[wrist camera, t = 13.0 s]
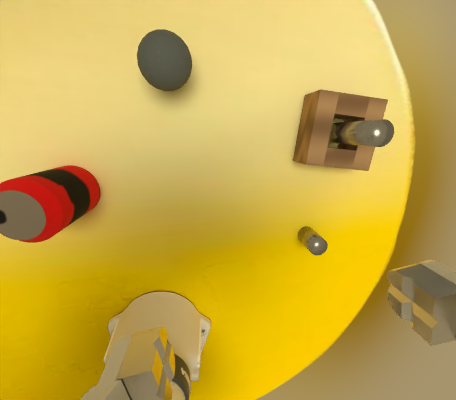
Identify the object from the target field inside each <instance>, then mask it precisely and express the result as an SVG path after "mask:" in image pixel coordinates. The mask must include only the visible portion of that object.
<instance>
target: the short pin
mask: <svg viewBox="0 0 456 400" xmlns="http://www.w3.org/2000/svg"><path fill="white" fill-rule="evenodd" d="M298 238H299V240H300V241H301V242H302V243H303V244H304V245H305V246H306V247H307V249H308V250H309V251H310V252H311V253H312V254H314V255H321V254H323V253H324V252H325V251H326V250H327V242H326V241H325V240H324V239H323V238H322V237H321V236H320V235H318V234H317V233H316V232H315V231H314V230H313V229H312V228H310V227H303V228H301V229H300V230H299V232H298Z"/></svg>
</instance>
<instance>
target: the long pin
mask: <svg viewBox="0 0 456 400" xmlns="http://www.w3.org/2000/svg"><path fill="white" fill-rule="evenodd" d="M393 134H394V127H393V124H392V123H391V122H390V121H388V120H369V121H354V122H339V123H333V124H332V128H331V133H330V137H329V142H328V143H339V144H350V145H362V146H374V147H382V146H385V145H386V144H388V143H389V142H390V141H391V139H392V137H393Z"/></svg>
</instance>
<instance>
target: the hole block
mask: <svg viewBox="0 0 456 400" xmlns="http://www.w3.org/2000/svg"><path fill="white" fill-rule="evenodd" d="M387 101H388V100H386V99H379V98H373V97H366V96H360V95H353V94H346V93H340V92H333V91H326V90H318V91H315V92H313V93H310V94H307V95H305V98H304V104H303V109H302V114H301V120H300V125H299V130H298V136H297V141H296V147H295V152H294V157H293V160H294V161H297V162H300V163H303V164H308V165H317V166H327V167H336V168H346V169H355V170H365V171H369V167H370V163H371V160H372V156H373V152H374V149H375V147H374V146H362V145H350V144H339V145H338V148H329V147H327V146H328V142H329V137H330V133H331V128H332V124H333V119H334V118H337V119H344V122H354V121H369V120H383V116H384V112H385V109H386V105H387Z"/></svg>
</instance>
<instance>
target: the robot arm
mask: <svg viewBox="0 0 456 400" xmlns="http://www.w3.org/2000/svg"><path fill="white" fill-rule="evenodd" d="M387 281H389V283H391V286H390V287H389V289H388V290H387V295H388V300H389V303H390V305H391V307H392V308H393V310H394V311H395V312H396V313H397V314H398V315H399V316H400V317H401V318H402V319H405V320H407V321H410V322H411V323H412V328H413V329H414V330H415V331H416V332H417V333H418V334H419V335H420V336H421V337H422V338H423V339H424V340H425V341H427V342H428V343H429V344H430V345H431V346H432V345H437V344H441V343H445V342H450V341H454V340H456V272H455V271H453V270H452V269H450V268H448V267H446V266H444V265H442V264H440V263H439V262H437V261H434V260H427V261H423V262H420V263H416V264H413V265H409V266H405V267H401V268H397V269H393V270H390V271H389V272H388V275H387ZM210 327H211V321H210V320H209V319H208V318H206V317H205V316H203V315H201V314H200V313H199V312H198V311H197V309H196V308H195V307H194V305H193V304H192V303H191V302H190V301H189V300H187V299H186V298H184V297H182V296H180V295H178V294H175V293H171V292H152V293H148V294H145V295H142V296H140V297H138V298H137V299H135V300H134V301H132V302H131V303H130V304H129V305H128V307H127V308H126V309H125V310H124V311H123V312H122V313H120V314H118V315H116V316H114V317H113V318H111V319H110V321H109V324H108V329H109V333H110V336H111V339H110V342H109V345H108V348H107V350H106V353H105V356H104V360H103V362H104V363H105V368H104V370H103V373H102V375H101V378H100V380H99V382H98V385H97V386H93V387H92V388H91V389H90V390H89V391H88V392H87V393H86V394H85V395H84V396H83V397H82V398H81V399H80V400H189V396H190V387H191V386H190V381H198V377H199V368H200V364H201V360H200V356H201V353H202V350H203V347H204V345H205V342H206V339H207V336H208V333H209V331H210ZM203 329H204V330H203Z"/></svg>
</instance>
